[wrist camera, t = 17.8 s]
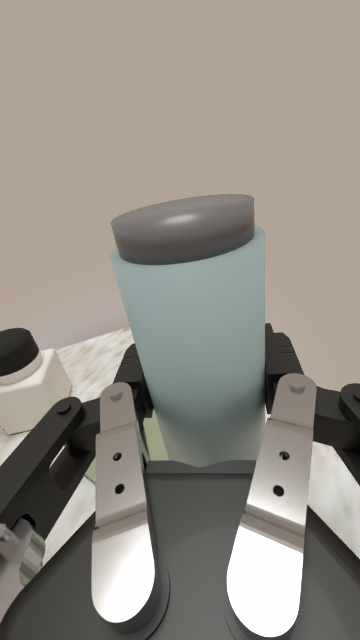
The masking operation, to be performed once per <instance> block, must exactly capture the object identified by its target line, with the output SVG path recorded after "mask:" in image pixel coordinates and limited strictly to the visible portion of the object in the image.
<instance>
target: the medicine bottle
mask: <svg viewBox="0 0 360 640" xmlns="http://www.w3.org/2000/svg"><path fill="white" fill-rule="evenodd" d="M71 387H72V384H71V382H70V380H69V378H68V376H67V374H66V372H65V370H64V368H63V366H62V364H61V362H60V359H59V357H58V355H57V353H56V351H55V350H54V349H48V350H43V351H40V350H39V348H38V346H37V345H36V343H35V341H34V339H33V337H32V335H31V333H30V331H28V330H26V329H23V328H14V329H8V330H4V331H1V332H0V425H1V427H2V428H3V429H4V431H5V432H6V433H7V434H8V435H10V434H14V433H18V432H23V431H27V430H31V429H33V428H34V427H35V426H36V425H37V423H38V422H39V421H40V420H41V419H42V418H43V416H44V415H45V414H46V413H47V412H48V411H49V410H50V408H51V407H52V406H53V405H54V404H55V403H57V402H58V401H60V400H61V399H64V398H67V397H69V394H70V390H71Z"/></svg>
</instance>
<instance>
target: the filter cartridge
mask: <svg viewBox="0 0 360 640" xmlns="http://www.w3.org/2000/svg"><path fill="white" fill-rule="evenodd" d="M111 226H112V230H113V234H114V237H115V241H116V245H117V248H115V249H114V250H113V251H112V253H111V255H110V259H111V262H112V266H113V269H114V272H115V276H116V279H117V283H118V286H119V290H120V293H121V296H122V300H123V304H124V307H125V310H126V314H127V317H128V321H129V324H130V328H131V331H132V335H133V338H134V341H135V345H136V348H137V352H138V355H139V359H140V362H141V366H142V369H143V372H144V376H145V379H146V383H147V386H148V390H149V393H150V397H151V400H152V403H153V407H154V410H155V414H156V417H157V421H158V424H159V427H160V431H161V434H162V438H163V441H164V445H165V448H166V452H167V455H168V458H169V460H174V461H177V462H181V463H185V464H189V465H192V466H196V467H204V466H208V465H212V464H216V463H219V462H223V461H227V460H256V463H257V459H258V454H259V450H260V446H261V442H262V438H263V434H264V430H265V232H264V230H263V229H262V228H261V227H259V226H257V225H254V198H253V197H251V196H248V195H242V194H221V195H208V196H200V197H192V198H185V199H179V200H174V201H169V202H164V203H159V204H154V205H150V206H146V207H143V208H139V209H136V210H133V211H130V212H127V213H124V214H122V215H120V216H118V217H116V218H114V219H113V220H112V221H111Z"/></svg>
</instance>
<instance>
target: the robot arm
mask: <svg viewBox="0 0 360 640" xmlns="http://www.w3.org/2000/svg"><path fill="white" fill-rule="evenodd" d="M265 405H266V410H267V414H271V416H270V418H268V419H267V422H266V426H265V430H264V434H263V438H262V442H261V446H260V450H259V454H258V459H257V463H256V460H227V461H223V462H219V463H216V464H212V465H208V466H204V467H196V466H192V465H189V464H185V463H181V462H177V461H174V460H158V461H151V457H150V452H149V446H148V441H147V436H146V430H145V427H144V424H143V422H144V418H152V415H153V410H154V407H153V403H152V400H151V397H150V393H149V390H148V386H147V383H146V379H145V376H144V372H143V369H142V366H141V362H140V359H139V355H138V352H137V348H136V345H135V344H132V345H131V346H130V347H129V348H128V349H127V350H126V352H125V354H124V357H123V359H122V362H121V365H120V367H119V369H118V372H117V374H116V377H115V379H114V382H113V384H111V385H109V386H108V387H107V388H105V389H104V390H103V392H102V393H101V395H100V397H99V398H97V399H94V400H91V401H87V402H84V403H81V401H80V400H79V399H78V398H77V397H67V398H64V399H61V400H60V401H58V402H57V403H55V404H54V405H53V406H52V407H51V408H50V410H49V411H48V412H47V413H46V414H45V415H44V416H43V418H42V419H41V420H40V421H39V422H38V423H37V425H36V426H35V427H34V428H33V429H32V430H31V432H30V433H29V434H28V435H27V436H26V437H25V438H24V440H23V441H22V442H21V443H20V444H19V445H18V447H17V448H16V449H15V450H14V451H13V452H12V454H11V455H10V456H9V457H8V458H7V459H6V460H5V462H4V463H3V464H2V465H1V466H0V640H360V559H359V558H358V557H357V556H356V555H355V554H354V553H353V552H352V551H351V550H350V549H349V547H348V546H347V545H346V544H345V543H344V542H343V541H342V540H341V539H340V538H339V537H338V536H337V535H336V534H335V533H334V532H333V531H332V530H331V529H330V528H329V527H328V526H327V524H326V523H325V522H324V521H323V520H322V519H321V518H320V517H319V516H318V515H317V514H316V513H315V512H314V511H313V510H312V509H311V508H310V507H309V506H308V505H307V500H308V489H309V478H310V466H311V455H312V443H313V441H314V442H318V443H322V444H326V445H329V446H333V448H334V449H335V451H336V452H337V454H338V455H339V456H340V458H341V459H342V461H343V462H344V464H345V465H346V467H347V468H348V470H349V471H350V472H351V474H352V475H353V477H354V478H355V480H356V481H357V483H358V484H359V486H360V384H357V383H356V384H348V385H346V386H344V387H343V388H342V389H341V392H338V391H333V390H327V389H323V388H320V387H318V386H316V384H315V383H314V381H313V380H312V379H310V378H309V377H307V376H305V375H304V373H303V371H302V368H301V365H300V363H299V360H298V358H297V356H296V354H295V351H294V348H293V346H292V344H291V341H290V339H289V338H288V337H287V336H286V335H285V334H284V333H273V330H272V327H271V324H270V323H266V324H265ZM63 446H65V448H64V449H63V450H62V452H61V453H60V455H59V456H58V457H57V459H56V460H55V462H54V463H53V464H52V466H51V467H50V465H51V463H52V461H53V460H54V458H55V457H56V455H57V454H58V453H59V451H60V450H61V448H62V447H63ZM95 456H96V511H95V512H94V513H93V514H92V515H91V516H90V517H89V518H88V519H87V520H86V521H85V522H84V524H83V525H82V526H81V527H80V528H79V529H78V530H77V531H76V532H75V533H74V534H73V535H72V536H71V537H70V539H69V540H68V541H67V542H66V543H65V544H64V545H63V546H62V547H61V548H60V549H59V550H58V551H57V552H56V553H55V555H54V556H53V557H52V558H51V559H50V560H49V561H48V562H47V563H46V564H45V565H44V566H43V567H42V565H43V561H42V560H43V557H44V553H45V540H46V538H47V536H48V535H49V533H50V531H51V530H52V528H53V526H54V525H55V523H56V521H57V520H58V518H59V516H60V515H61V513H62V511H63V510H64V508H65V506H66V505H67V503H68V501H69V500H70V498H71V496H72V495H73V493H74V491H75V490H76V488H77V486H78V485H79V483H80V481H81V480H82V478H83V476H84V475H85V473H86V471H87V470H88V468H89V466H90V465H91V463H92V461H93V460H94V458H95ZM49 468H50V469H49Z"/></svg>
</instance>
